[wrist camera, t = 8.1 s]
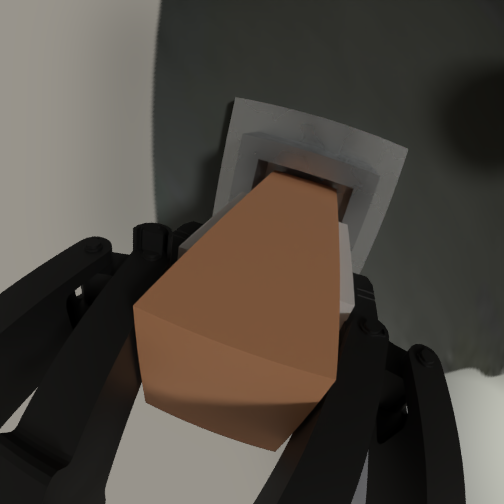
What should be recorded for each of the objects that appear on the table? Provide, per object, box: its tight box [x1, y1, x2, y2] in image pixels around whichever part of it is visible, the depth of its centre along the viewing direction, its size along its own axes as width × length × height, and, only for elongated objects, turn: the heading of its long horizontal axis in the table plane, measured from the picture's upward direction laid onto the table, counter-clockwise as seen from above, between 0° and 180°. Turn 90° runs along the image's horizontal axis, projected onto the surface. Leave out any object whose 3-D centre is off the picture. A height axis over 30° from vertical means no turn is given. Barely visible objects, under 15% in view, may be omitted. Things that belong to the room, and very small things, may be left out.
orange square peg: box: [133, 170, 340, 452], centre depth 12 cm, size 4×4×14 cm
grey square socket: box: [212, 97, 408, 274], centre depth 18 cm, size 12×12×4 cm
